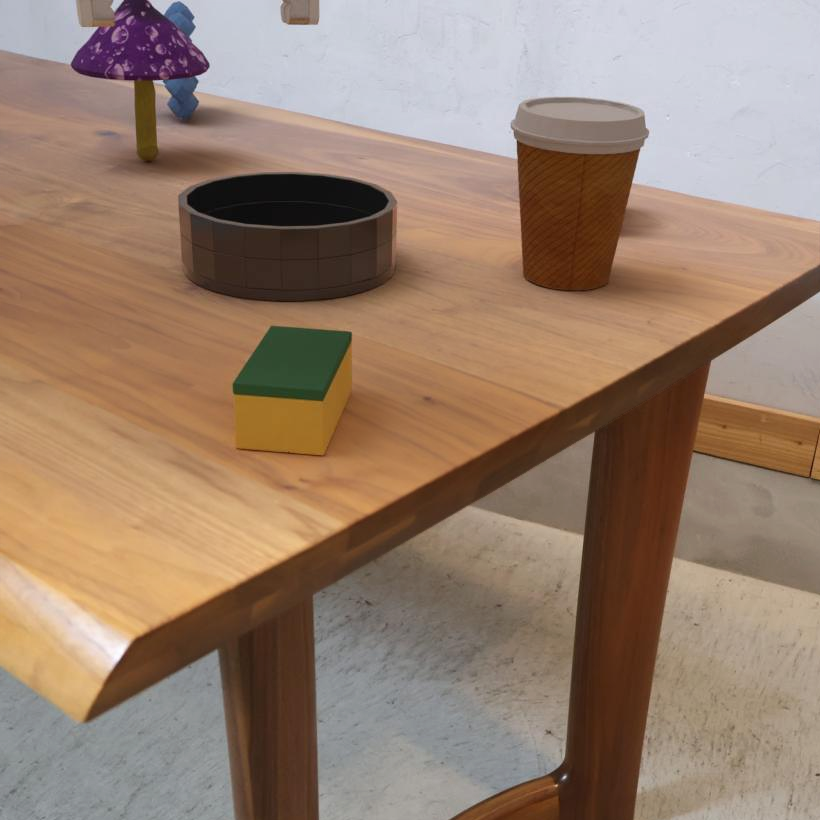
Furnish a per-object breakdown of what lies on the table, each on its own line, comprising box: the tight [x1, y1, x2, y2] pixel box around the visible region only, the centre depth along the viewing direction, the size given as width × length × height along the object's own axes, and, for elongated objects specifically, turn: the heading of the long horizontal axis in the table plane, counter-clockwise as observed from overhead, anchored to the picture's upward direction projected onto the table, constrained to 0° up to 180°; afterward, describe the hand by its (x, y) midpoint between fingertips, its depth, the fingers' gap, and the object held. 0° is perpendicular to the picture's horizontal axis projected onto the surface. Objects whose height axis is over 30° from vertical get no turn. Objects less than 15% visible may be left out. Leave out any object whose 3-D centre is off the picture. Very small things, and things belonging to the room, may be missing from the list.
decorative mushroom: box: [70, 0, 211, 162], centre depth 106 cm, size 12×12×15 cm
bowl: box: [177, 171, 398, 302], centre depth 82 cm, size 15×15×5 cm
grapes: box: [162, 0, 200, 120], centre depth 126 cm, size 12×7×12 cm, turn 10°
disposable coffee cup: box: [510, 96, 650, 291], centre depth 81 cm, size 10×10×12 cm
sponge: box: [232, 325, 353, 456], centre depth 60 cm, size 4×8×4 cm, turn 174°
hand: (201, 24), depth 54 cm, fingers open, 8 cm apart
